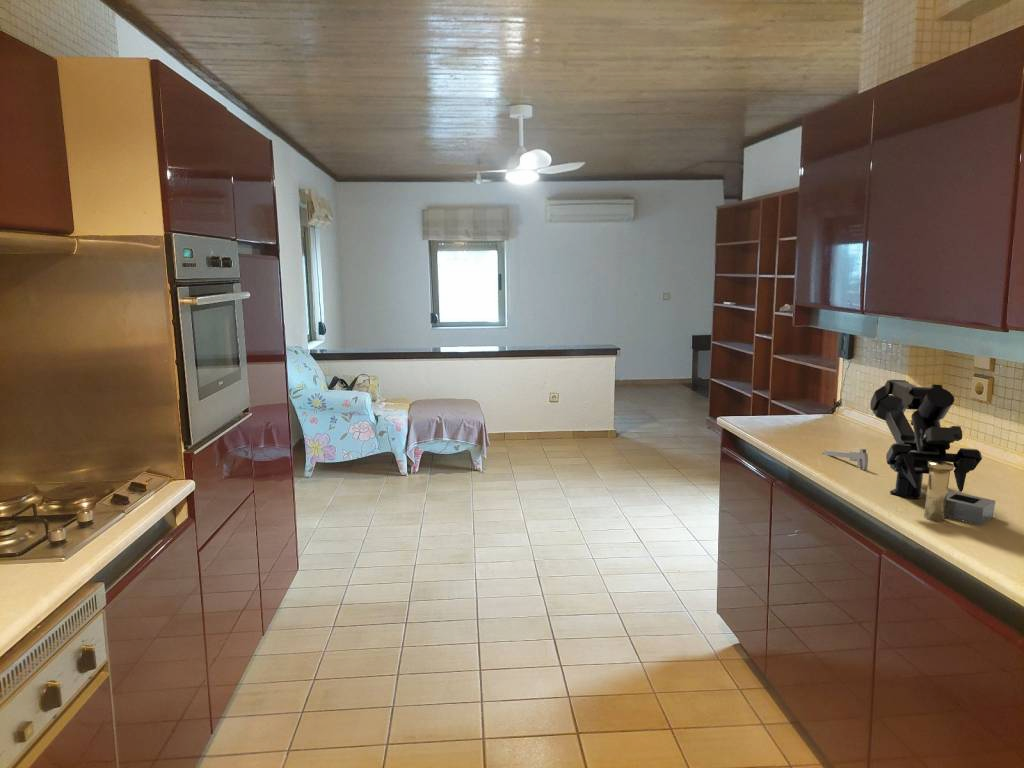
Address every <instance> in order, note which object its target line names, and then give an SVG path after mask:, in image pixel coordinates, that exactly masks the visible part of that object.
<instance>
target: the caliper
mask: <svg viewBox="0 0 1024 768" xmlns="http://www.w3.org/2000/svg"><path fill="white" fill-rule="evenodd" d="M821 453H822V454H824V455H825V456H831V457H839V458H846V459H847V458H848V459H849V461H850V462H851V461H852V462H856V463H857V467H858V469H859V468H863V469H862V471H867V470H868V465H869V464H868V463H869V457H868V455H869V454H868V453H867V449H865V448H860V449H859V451H849V452H846V451H838V450H829V449H827V450H824V451H822V452H821Z"/></svg>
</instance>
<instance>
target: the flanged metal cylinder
mask: <svg viewBox="0 0 1024 768" xmlns="http://www.w3.org/2000/svg"><path fill="white" fill-rule="evenodd" d="M928 467H929V468H930V471H929V474H928V481H927V488H926V495H925V504H924V514H923V518H924V517H925V518H924V519H926V518H927V519H926V520H928V519H930V520H929V521H932V520H936V521H935V522H943V521H942V520H944V521H945V517H944V516H945V508H946V500H947V492H948V490H949V483H950V475H951V471H954V465H953V463H952V462H943V461H928Z"/></svg>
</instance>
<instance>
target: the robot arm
mask: <svg viewBox="0 0 1024 768" xmlns="http://www.w3.org/2000/svg"><path fill="white" fill-rule="evenodd" d="M954 402H955V397H954V395H953V394H952V393H951V392H950V391H948V390H947V389H945V388H943V385H942V384H933V383H932V384H931V386H930V387H927V386H922V387H921V386H918V385H915V384H912V383H910V382H909V381H906V380H903V379H889V380H887V381H886V382H885V384H884V385H883V386H881V387H879V388H878V389H877V390H875V391H874V393H873V395H872V397H871V399H870V403H869V405H870V410H871V411H872V413H873V414H874V415H875V417H877V418H878V419H881V420H882V421H885V423H886V425H887V428H888V429H889V432H890V434H891V435H892V437H893V439H894V441H895V443H893V444H891V446H890V447H889V449H888V451H887V452H886V456H885V458H886V459H885V460H886V464H887V465H889V467H890V468H891V470H893V471H894V472H896V480H895V481H896V483H895V488H894V489H892V490H889V494H893V495H897V496H901V497H905V498H908V499H909V498H910V499H914V500H918V499H920V498H922V497H925V496H926V495H927V492H923V491H922V488H923V479H924V478H923V477H924V474H925V475H929V471H930V468H929V467H928V461H943V462H948V463H952V464H953V468H954V469H953V474H954V478H955V481H956V482H955V483H956V486H957V489H958V491H959V493H962V491H964V487H965V482H966V479H967V478H966V477H967V474H968V473H970V472H971V471H974V470H975V469H976V467H977V466H978V465H979V464H980V462H981V461H982V459H983V456H982V453H981V451H980V450H978V448H977V449H976V448H965V447H960V449H958V451H957V453H949V452H947V451H948V450H950V448H951V443H952V444H953V443H955V442H959V441H961V440H962V439H963V430H962V427H961V426H960V425H952V426H950V427H941V426H942V425H941V420H943V419H945V417H946V415H947V414H948V412H949V411H950V409H951V408H952V406H953V404H954ZM906 410H912V411H913V410H914V412H913V413H912V414H911V415H910V416H911V417H910V418H911V421H910V422H909V420H908V419H907V416H906V414H905V412H906ZM912 427H913V428H912Z"/></svg>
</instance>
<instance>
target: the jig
mask: <svg viewBox="0 0 1024 768" xmlns="http://www.w3.org/2000/svg"><path fill="white" fill-rule="evenodd" d="M995 507H996V500H994V499H991V498H990V499H989V498H985V497H982V496H981V497H980V496H976V495H972V494H968V493H962V492H957V491H953V490H949V489H948V492H947V500H946V508H945V516H946V517H945V518H949V517H950V518H949V519H953V518H955V519H954V520H957V519H959V520H958V521H961V520H964V521H963V522H965V521H967V522H966V523H969V522H971V523H970V524H973V523H975V524H974V525H977V524H979V525H978V526H982V525H984V524H985V523H986V521H987V520H988V521H990V520H991V519H992V517H993V518H994V514H995ZM990 518H991V519H990ZM989 519H990V520H989ZM988 521H987V522H988ZM984 522H985V523H984ZM983 523H984V524H983Z"/></svg>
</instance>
